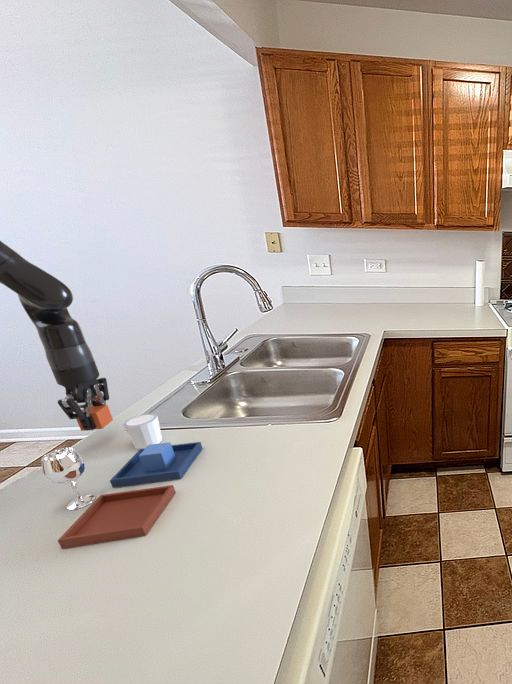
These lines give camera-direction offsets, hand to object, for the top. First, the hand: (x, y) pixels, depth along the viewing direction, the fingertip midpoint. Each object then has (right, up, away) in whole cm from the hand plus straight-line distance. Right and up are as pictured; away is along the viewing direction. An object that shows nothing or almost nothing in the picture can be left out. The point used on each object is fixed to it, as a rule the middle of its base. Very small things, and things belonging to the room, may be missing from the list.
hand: (97, 424), depth 101 cm
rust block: (0, 0, 0) cm, 0 cm away
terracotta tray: (+27, -15, -23) cm, 38 cm away
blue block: (+22, -8, -8) cm, 25 cm away
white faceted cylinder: (+12, -5, +2) cm, 13 cm away
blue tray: (+22, -9, -7) cm, 25 cm away
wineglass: (+15, -13, -18) cm, 27 cm away
